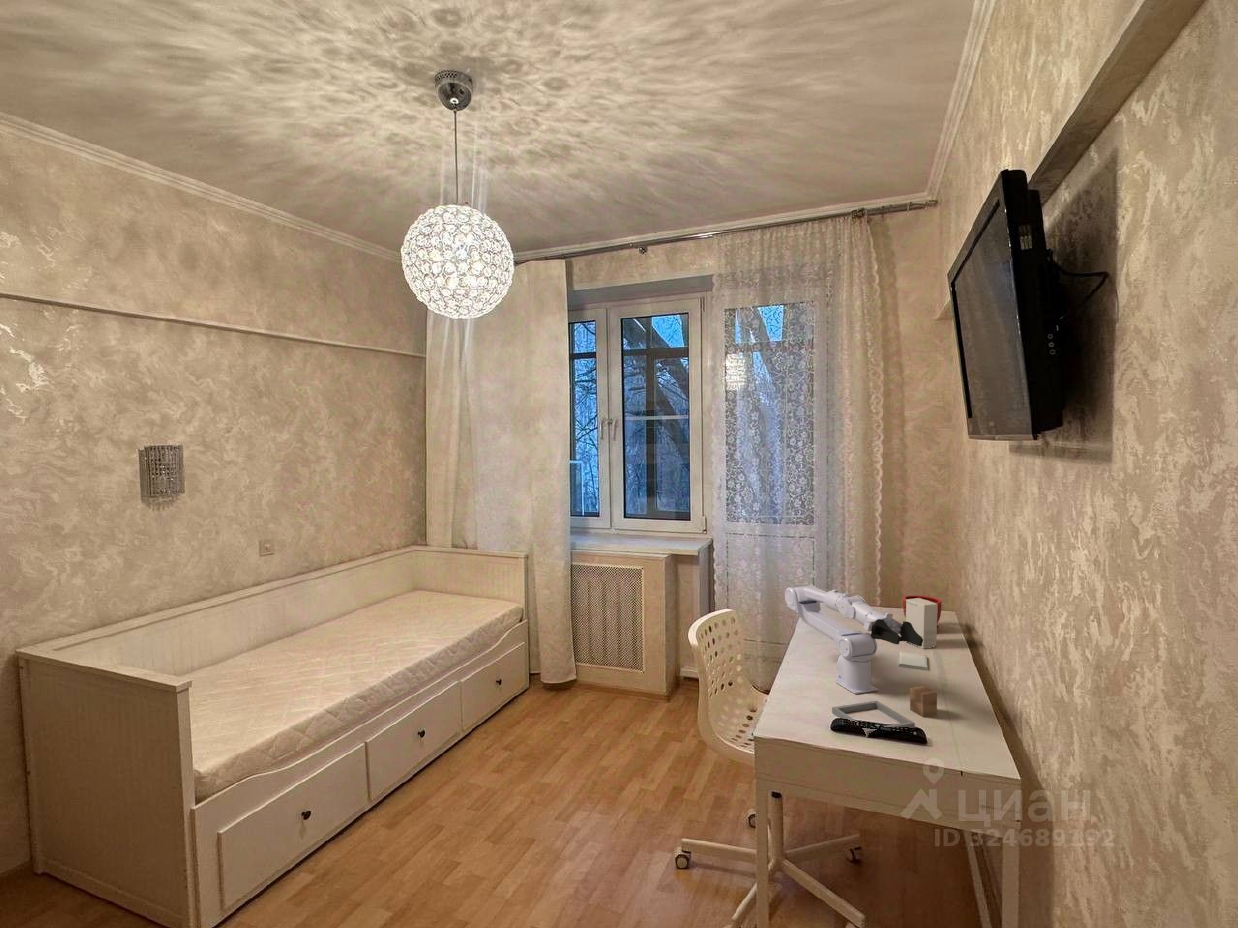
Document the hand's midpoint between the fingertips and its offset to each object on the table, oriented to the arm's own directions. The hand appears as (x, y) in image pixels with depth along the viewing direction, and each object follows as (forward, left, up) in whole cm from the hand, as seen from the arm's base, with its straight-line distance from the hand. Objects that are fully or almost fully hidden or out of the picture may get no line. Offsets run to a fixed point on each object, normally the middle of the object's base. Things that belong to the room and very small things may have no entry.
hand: (910, 641), depth 156 cm
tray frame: (-1, -11, -20) cm, 23 cm away
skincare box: (-45, +44, -20) cm, 66 cm away
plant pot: (-59, +57, -20) cm, 85 cm away
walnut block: (-1, +5, -20) cm, 21 cm away
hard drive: (-32, +29, -21) cm, 48 cm away
